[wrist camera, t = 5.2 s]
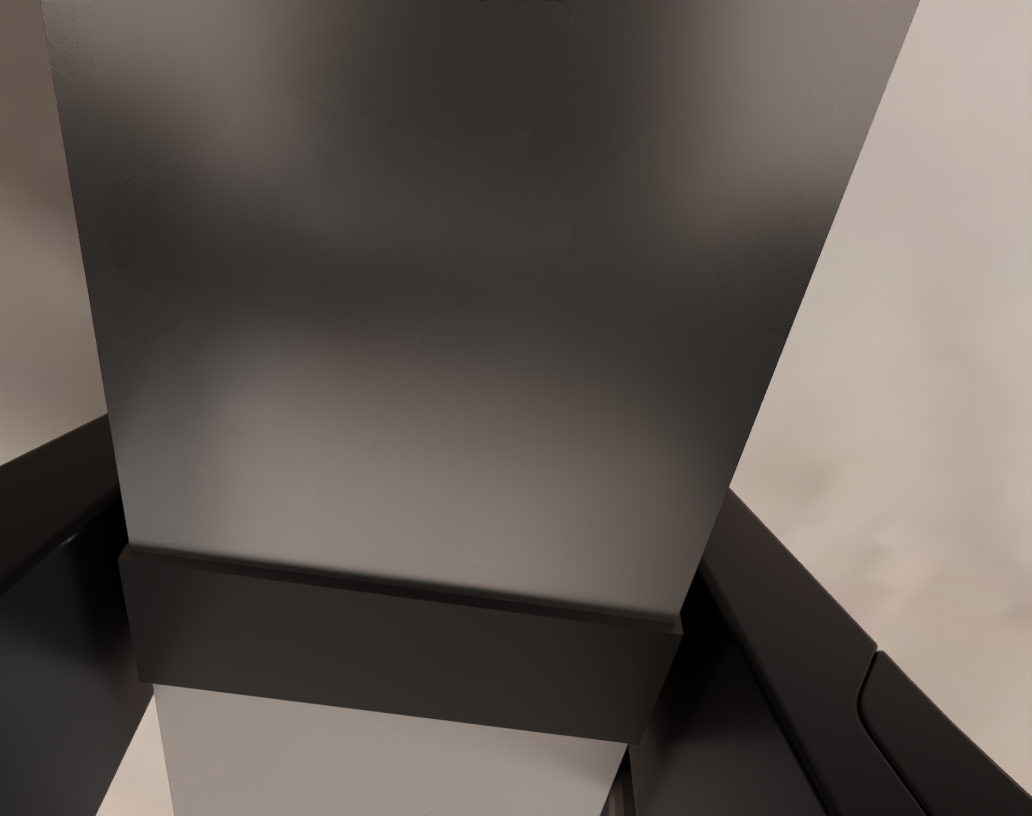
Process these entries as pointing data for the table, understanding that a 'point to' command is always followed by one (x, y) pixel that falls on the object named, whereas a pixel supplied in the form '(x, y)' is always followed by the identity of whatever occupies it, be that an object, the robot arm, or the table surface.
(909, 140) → the table surface
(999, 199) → the table surface
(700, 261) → the air duct
